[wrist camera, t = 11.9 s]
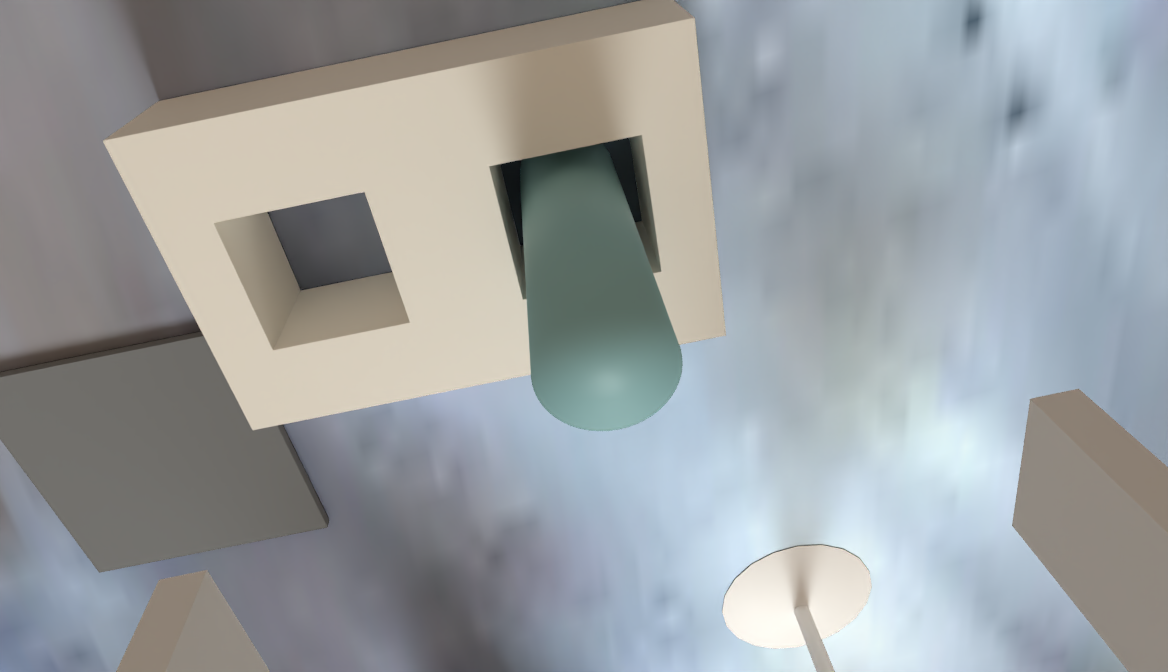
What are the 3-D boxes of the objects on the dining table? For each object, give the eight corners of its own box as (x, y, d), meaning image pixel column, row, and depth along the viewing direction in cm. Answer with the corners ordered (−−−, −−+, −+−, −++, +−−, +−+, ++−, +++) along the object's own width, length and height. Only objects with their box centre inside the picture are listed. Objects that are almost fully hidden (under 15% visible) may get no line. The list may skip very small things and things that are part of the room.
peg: (529, 225, 28) (546, 442, 17) (511, 137, 26) (516, 320, 16) (619, 208, 28) (689, 416, 17) (606, 119, 26) (674, 290, 16)
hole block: (281, 364, 30) (252, 430, 26) (158, 101, 24) (103, 141, 21) (699, 279, 29) (725, 335, 26) (667, -5, 24) (694, 17, 21)
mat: (103, 565, 34) (99, 572, 34) (-34, 379, 29) (-40, 385, 28) (329, 520, 34) (327, 527, 33) (233, 324, 29) (230, 330, 28)
